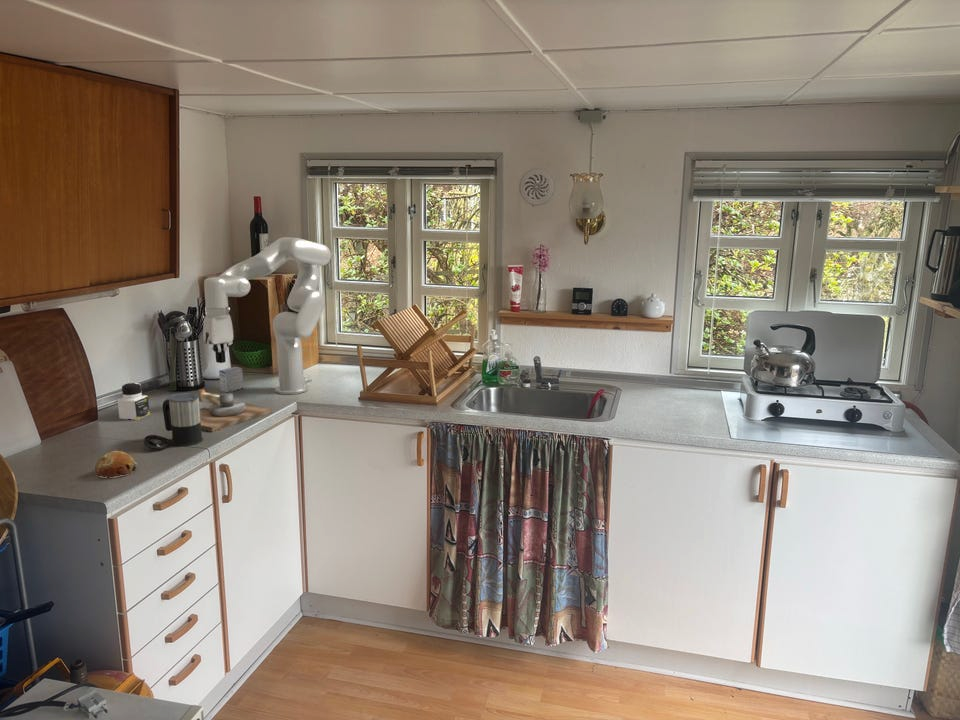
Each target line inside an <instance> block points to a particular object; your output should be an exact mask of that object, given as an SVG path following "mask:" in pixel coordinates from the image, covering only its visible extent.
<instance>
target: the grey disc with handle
mask: <svg viewBox="0 0 960 720" xmlns="http://www.w3.org/2000/svg"><path fill="white" fill-rule="evenodd" d="M197 394H198V395H199V403H200V402H201V403H206V404H211V405H208V406H209V413H210V414H211V415H214V416H230V415H236V414H240V413H242V412H244V411H245V402H243V401H237V400H235V401H234V394H233V393H231V392H228V393H226V392H224V393H221V394H215V393H212V392H211V393H210V392H206V389H204V388H203V389H202V388H201V389H198V391H197Z"/></svg>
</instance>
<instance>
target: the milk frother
mask: <svg viewBox="0 0 960 720" xmlns="http://www.w3.org/2000/svg"><path fill="white" fill-rule="evenodd" d="M200 409H201V408H200V401H199V394H198V393H194V392H184V393H177V394H173V395H170V396H168V398H167V399H165V400H164V401H163V403H162V413H163V420H164V426H165V427H164V428H165V430H166V431H167V432H171V437H172V438H171V439H169V438H167V437H164V436H161V435H158V434H150V435H146V436H145V437H144V439H143V445H144V446H145V448H148V449H150V450H152V451H155V450H156V451H158V450H159V451H160V450H163V449H167V448H168V446H169V442H168V441H170V442H171V444H172V445H174V446H177V447H185V446H186V447H187V446H194V445H197V444H200V443H202V442H203V441H204V438H203V433H202V430H201V422H200ZM202 440H203V441H202ZM159 441H161V442H162V443H163V444H162V445H160V442H159ZM199 442H200V443H199ZM193 444H194V445H193Z"/></svg>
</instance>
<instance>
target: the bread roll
mask: <svg viewBox="0 0 960 720" xmlns="http://www.w3.org/2000/svg"><path fill="white" fill-rule="evenodd" d="M137 465H138V463H137V462H136V461H135V458H134V457H132V456H131V455H130V454H128V453H126V452H124V451H119V450H113V451H109V452H107V453H105V454H104V455H102V456H101V457H100V458H99V459H98V460H97V461H96V464H95V466H94V471H95V474H96V476H97V475H98V476H103V477H106V476H107V477H114V476H120V475H126V474H129V473H131V472H133V471H137V470H136V469H137ZM133 473H134V472H133ZM98 476H97V477H98Z"/></svg>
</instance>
